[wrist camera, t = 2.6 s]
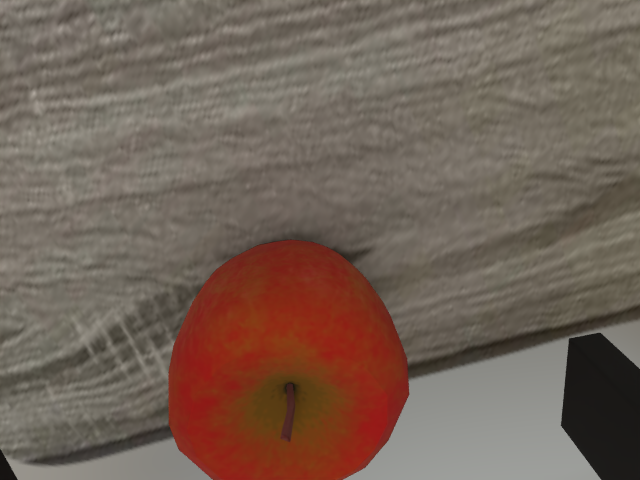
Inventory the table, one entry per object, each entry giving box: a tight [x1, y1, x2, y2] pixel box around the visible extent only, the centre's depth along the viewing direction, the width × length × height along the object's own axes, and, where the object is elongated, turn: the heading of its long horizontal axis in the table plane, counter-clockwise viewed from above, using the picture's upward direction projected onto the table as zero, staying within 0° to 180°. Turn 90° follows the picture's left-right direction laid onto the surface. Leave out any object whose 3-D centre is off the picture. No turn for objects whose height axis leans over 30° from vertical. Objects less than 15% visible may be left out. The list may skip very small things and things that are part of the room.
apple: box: [169, 240, 409, 480], centre depth 15 cm, size 6×6×8 cm
